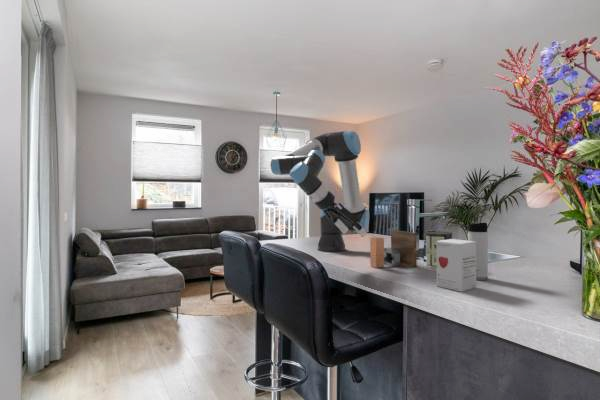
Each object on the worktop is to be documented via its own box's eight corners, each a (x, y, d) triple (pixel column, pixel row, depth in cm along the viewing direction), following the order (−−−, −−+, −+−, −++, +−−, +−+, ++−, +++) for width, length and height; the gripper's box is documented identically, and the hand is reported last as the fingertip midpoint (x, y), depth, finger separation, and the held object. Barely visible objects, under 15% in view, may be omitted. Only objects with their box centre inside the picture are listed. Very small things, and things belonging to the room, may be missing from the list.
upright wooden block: (376, 267, 147) (375, 238, 147) (370, 266, 151) (370, 237, 151) (402, 264, 153) (402, 236, 152) (396, 263, 156) (396, 235, 156)
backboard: (407, 267, 147) (406, 233, 147) (385, 262, 160) (385, 230, 160) (416, 266, 149) (416, 233, 149) (394, 261, 162) (394, 230, 162)
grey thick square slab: (394, 267, 149) (394, 250, 149) (384, 264, 155) (383, 248, 155) (400, 266, 150) (399, 249, 150) (389, 263, 156) (389, 247, 156)
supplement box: (435, 286, 117) (435, 240, 117) (451, 282, 123) (450, 238, 123) (461, 292, 110) (461, 243, 110) (477, 287, 115) (477, 240, 115)
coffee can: (446, 263, 155) (446, 231, 154) (456, 268, 144) (456, 233, 144) (422, 264, 155) (422, 231, 155) (430, 269, 144) (430, 234, 144)
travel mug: (476, 281, 124) (475, 223, 123) (464, 276, 130) (464, 221, 130) (492, 280, 125) (492, 222, 124) (480, 276, 131) (479, 221, 131)
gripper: (302, 202, 150) (334, 236, 156) (331, 203, 127) (367, 243, 133) (313, 190, 152) (344, 224, 158) (344, 188, 129) (379, 228, 135)
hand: (355, 233), depth 145 cm, fingers open, 13 cm apart
